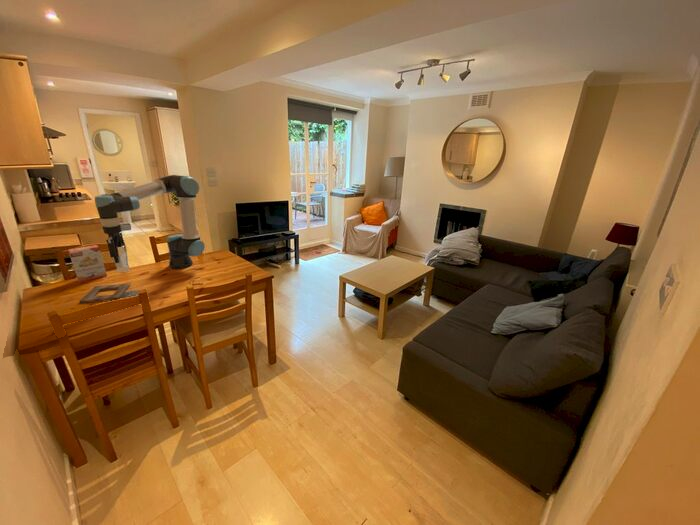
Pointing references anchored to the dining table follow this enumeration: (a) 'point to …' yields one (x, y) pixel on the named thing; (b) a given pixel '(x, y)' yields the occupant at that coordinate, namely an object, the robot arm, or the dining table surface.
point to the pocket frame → (92, 295)
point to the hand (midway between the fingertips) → (122, 265)
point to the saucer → (131, 293)
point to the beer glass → (123, 259)
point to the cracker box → (87, 263)
